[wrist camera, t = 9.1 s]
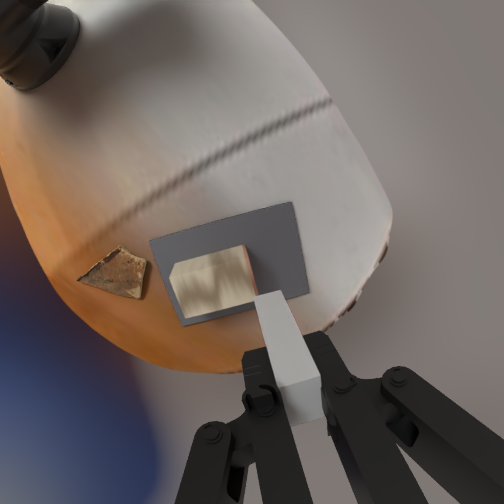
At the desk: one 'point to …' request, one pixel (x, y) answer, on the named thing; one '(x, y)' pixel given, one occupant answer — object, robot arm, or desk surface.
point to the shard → (117, 273)
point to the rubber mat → (257, 246)
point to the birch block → (214, 281)
